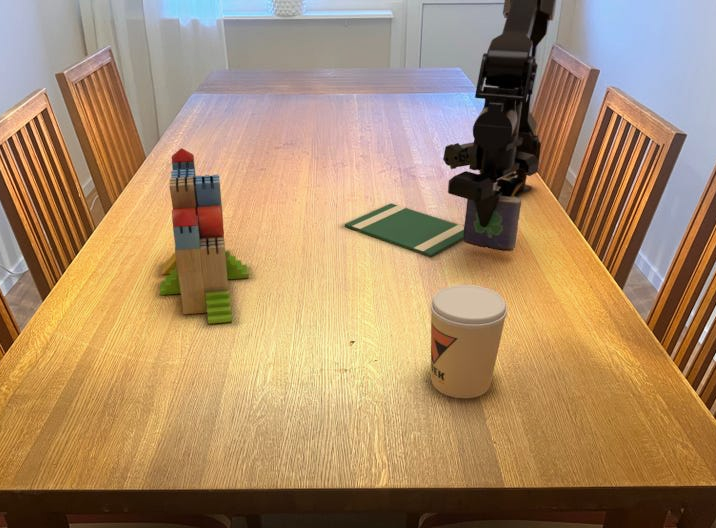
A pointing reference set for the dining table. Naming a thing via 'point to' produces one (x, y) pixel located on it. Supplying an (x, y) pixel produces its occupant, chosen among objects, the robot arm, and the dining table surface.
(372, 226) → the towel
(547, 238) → the dining table surface
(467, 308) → the coffee cup
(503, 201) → the flask
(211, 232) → the block set
